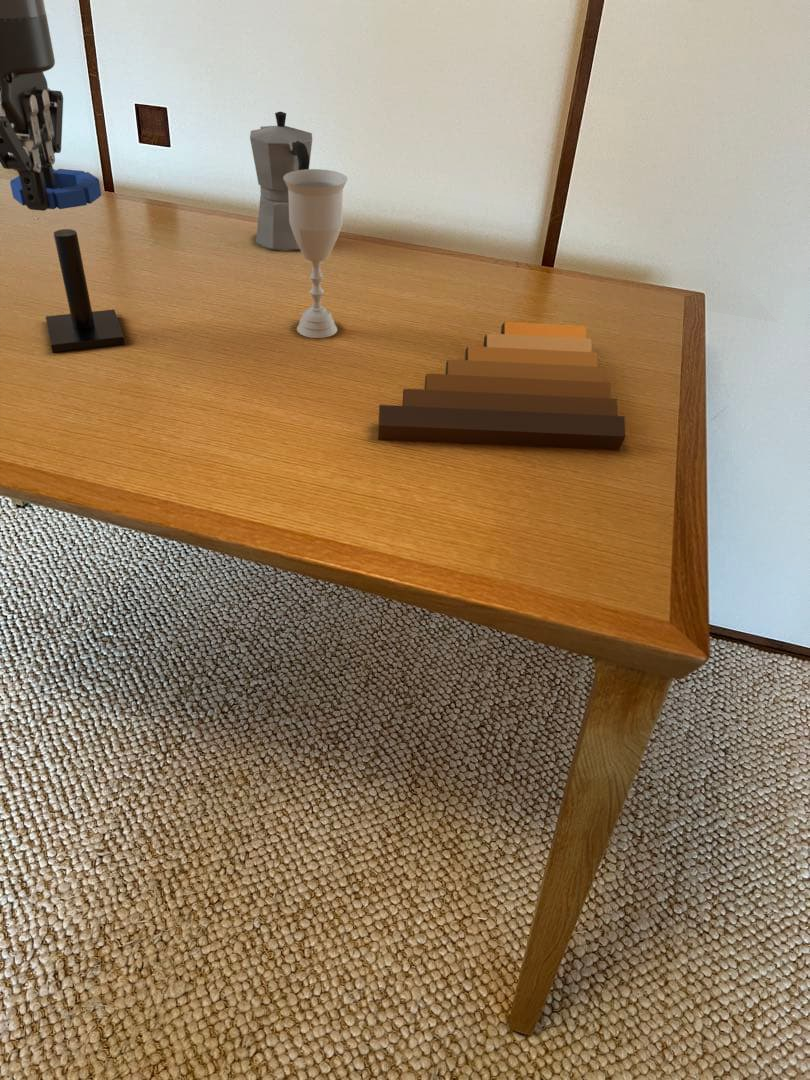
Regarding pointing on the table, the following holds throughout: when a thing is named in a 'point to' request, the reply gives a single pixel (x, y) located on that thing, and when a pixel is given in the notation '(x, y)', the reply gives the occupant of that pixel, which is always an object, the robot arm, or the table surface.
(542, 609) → the table surface
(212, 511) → the table surface
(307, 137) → the coffeepot
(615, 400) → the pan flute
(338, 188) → the chalice
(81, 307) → the black peg stand
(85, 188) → the ring
